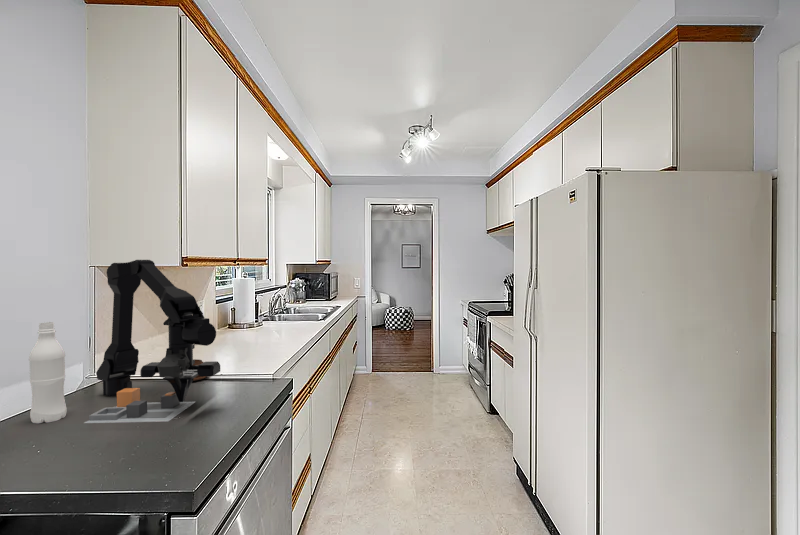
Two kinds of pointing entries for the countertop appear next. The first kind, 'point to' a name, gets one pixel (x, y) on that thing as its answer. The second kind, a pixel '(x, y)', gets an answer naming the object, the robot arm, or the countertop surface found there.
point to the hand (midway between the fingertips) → (181, 401)
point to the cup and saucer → (198, 362)
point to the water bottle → (47, 376)
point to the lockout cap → (127, 396)
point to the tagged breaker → (169, 400)
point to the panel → (176, 411)
